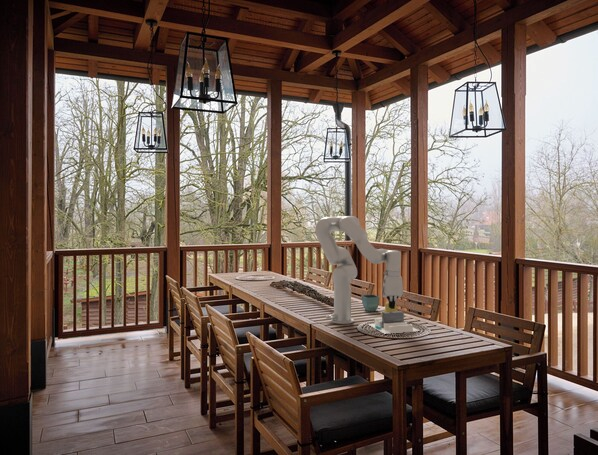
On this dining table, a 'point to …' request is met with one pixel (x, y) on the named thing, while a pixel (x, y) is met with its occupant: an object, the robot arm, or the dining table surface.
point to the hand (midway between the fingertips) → (391, 308)
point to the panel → (392, 317)
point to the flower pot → (370, 302)
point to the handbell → (389, 308)
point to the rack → (392, 327)
